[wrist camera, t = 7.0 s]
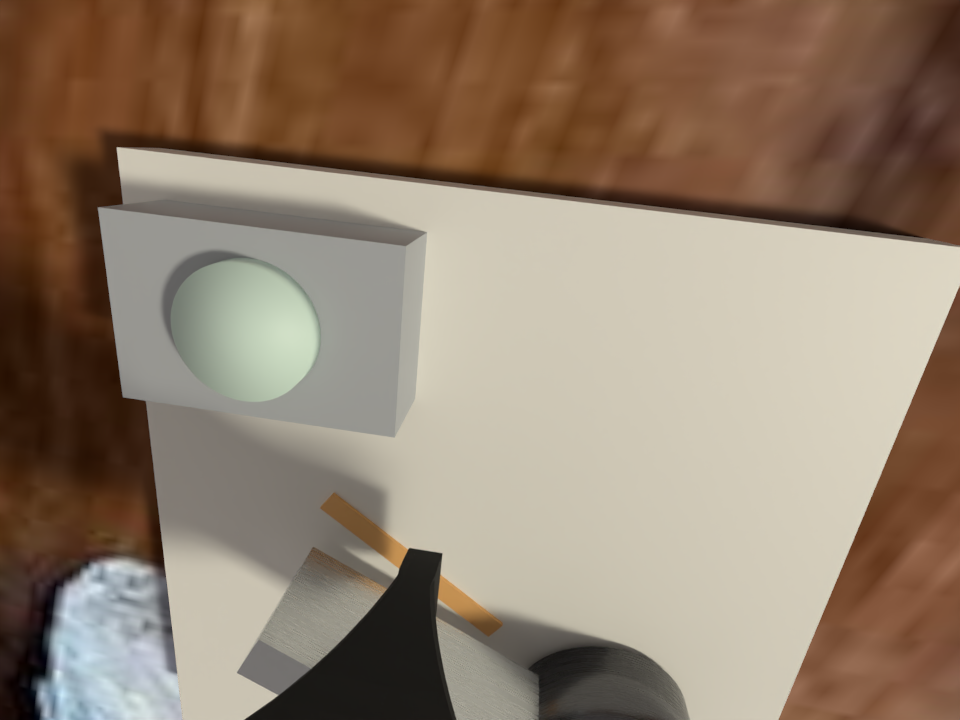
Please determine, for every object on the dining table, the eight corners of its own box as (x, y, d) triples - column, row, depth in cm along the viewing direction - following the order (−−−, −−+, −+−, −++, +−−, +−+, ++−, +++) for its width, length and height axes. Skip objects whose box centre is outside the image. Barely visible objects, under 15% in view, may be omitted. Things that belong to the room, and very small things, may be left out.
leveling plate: (719, 775, 19) (763, 929, 15) (208, 683, 20) (131, 804, 16) (926, 238, 13) (1089, 273, 9) (160, 148, 14) (15, 145, 10)
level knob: (724, 704, 16) (773, 850, 12) (614, 795, 17) (631, 945, 14) (352, 484, 14) (295, 581, 11) (274, 606, 16) (205, 720, 13)
